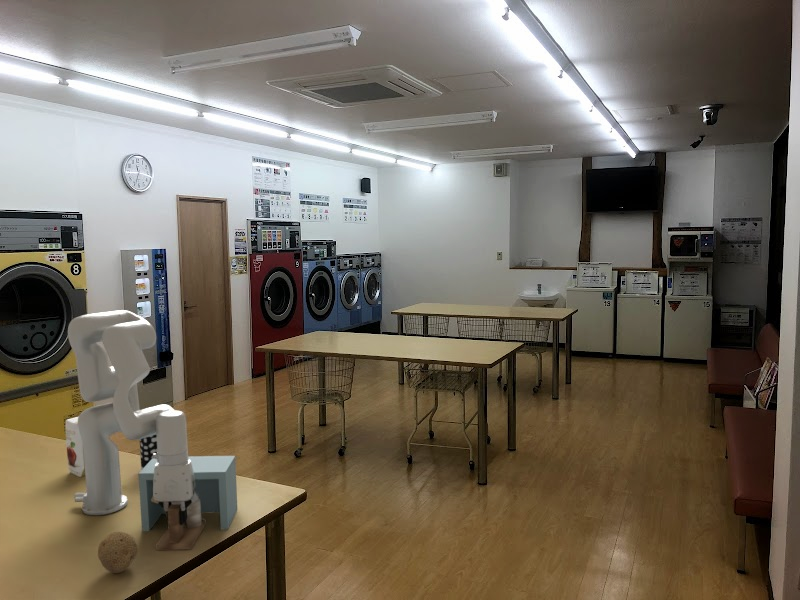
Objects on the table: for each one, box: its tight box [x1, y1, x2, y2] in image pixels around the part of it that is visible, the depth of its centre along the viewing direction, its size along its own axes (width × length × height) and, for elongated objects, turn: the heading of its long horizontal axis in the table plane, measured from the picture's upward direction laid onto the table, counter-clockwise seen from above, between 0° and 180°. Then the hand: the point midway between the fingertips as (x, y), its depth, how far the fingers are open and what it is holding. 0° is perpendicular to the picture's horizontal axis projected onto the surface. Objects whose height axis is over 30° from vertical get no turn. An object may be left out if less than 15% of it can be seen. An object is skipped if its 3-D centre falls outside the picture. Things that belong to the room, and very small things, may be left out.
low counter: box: [138, 455, 238, 532], centre depth 181 cm, size 24×12×17 cm, turn 92°
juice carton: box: [64, 416, 85, 478], centre depth 216 cm, size 8×9×19 cm
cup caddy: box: [155, 499, 207, 551], centre depth 172 cm, size 9×14×11 cm, turn 2°
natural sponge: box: [97, 531, 139, 574], centre depth 156 cm, size 9×9×10 cm
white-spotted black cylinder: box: [139, 435, 158, 471], centre depth 218 cm, size 8×8×20 cm
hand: (177, 522), depth 169 cm, fingers closed on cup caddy, 2 cm apart
